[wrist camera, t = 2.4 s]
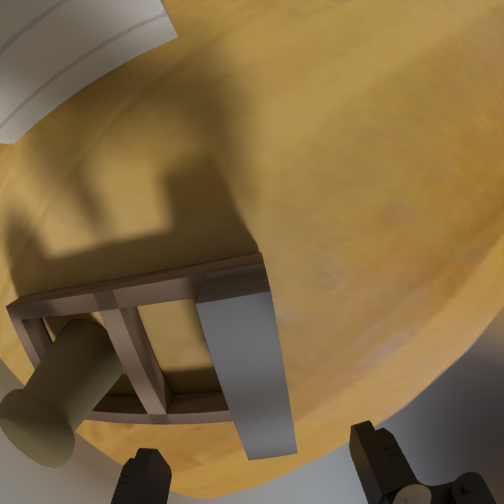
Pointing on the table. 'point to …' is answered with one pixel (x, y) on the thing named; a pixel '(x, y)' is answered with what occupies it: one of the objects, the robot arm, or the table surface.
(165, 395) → the divided wooden tray frame
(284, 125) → the table surface
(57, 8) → the pizza boxes
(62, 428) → the cork
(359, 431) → the robot arm
